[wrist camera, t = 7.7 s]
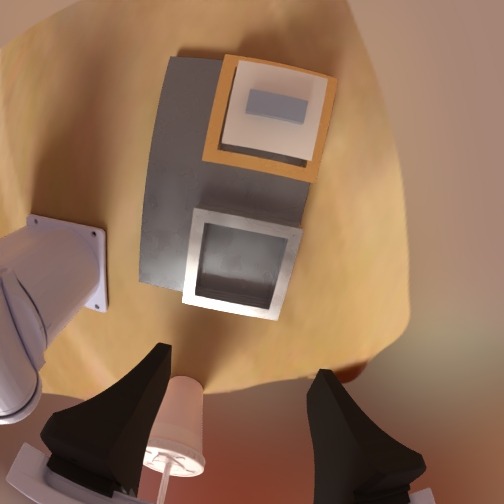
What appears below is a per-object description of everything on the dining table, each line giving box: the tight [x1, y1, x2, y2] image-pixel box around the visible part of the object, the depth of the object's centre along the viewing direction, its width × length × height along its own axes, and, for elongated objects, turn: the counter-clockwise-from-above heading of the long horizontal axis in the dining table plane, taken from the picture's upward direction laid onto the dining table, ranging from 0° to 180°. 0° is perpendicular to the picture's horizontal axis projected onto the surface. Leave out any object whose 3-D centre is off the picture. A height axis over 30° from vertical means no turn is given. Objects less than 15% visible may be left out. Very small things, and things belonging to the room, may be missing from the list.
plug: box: [222, 60, 328, 161], centre depth 13 cm, size 4×4×7 cm
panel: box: [139, 54, 338, 320], centre depth 18 cm, size 11×17×2 cm, turn 168°
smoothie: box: [143, 376, 205, 504], centre depth 20 cm, size 6×6×14 cm
